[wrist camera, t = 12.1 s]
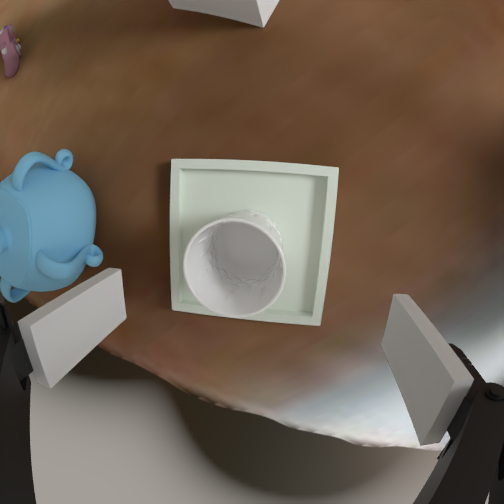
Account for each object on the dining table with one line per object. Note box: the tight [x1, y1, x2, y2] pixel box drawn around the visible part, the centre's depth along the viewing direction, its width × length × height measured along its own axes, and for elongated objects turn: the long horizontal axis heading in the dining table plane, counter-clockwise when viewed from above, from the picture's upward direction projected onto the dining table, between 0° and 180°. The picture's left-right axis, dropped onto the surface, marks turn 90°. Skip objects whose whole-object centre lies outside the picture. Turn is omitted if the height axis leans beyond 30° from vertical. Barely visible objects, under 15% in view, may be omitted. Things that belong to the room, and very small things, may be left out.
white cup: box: [183, 210, 286, 318], centre depth 27 cm, size 8×8×10 cm
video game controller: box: [0, 23, 22, 78], centre depth 27 cm, size 10×5×7 cm, turn 30°
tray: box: [170, 159, 339, 326], centre depth 32 cm, size 17×17×2 cm
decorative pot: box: [0, 149, 103, 302], centre depth 29 cm, size 16×16×14 cm
